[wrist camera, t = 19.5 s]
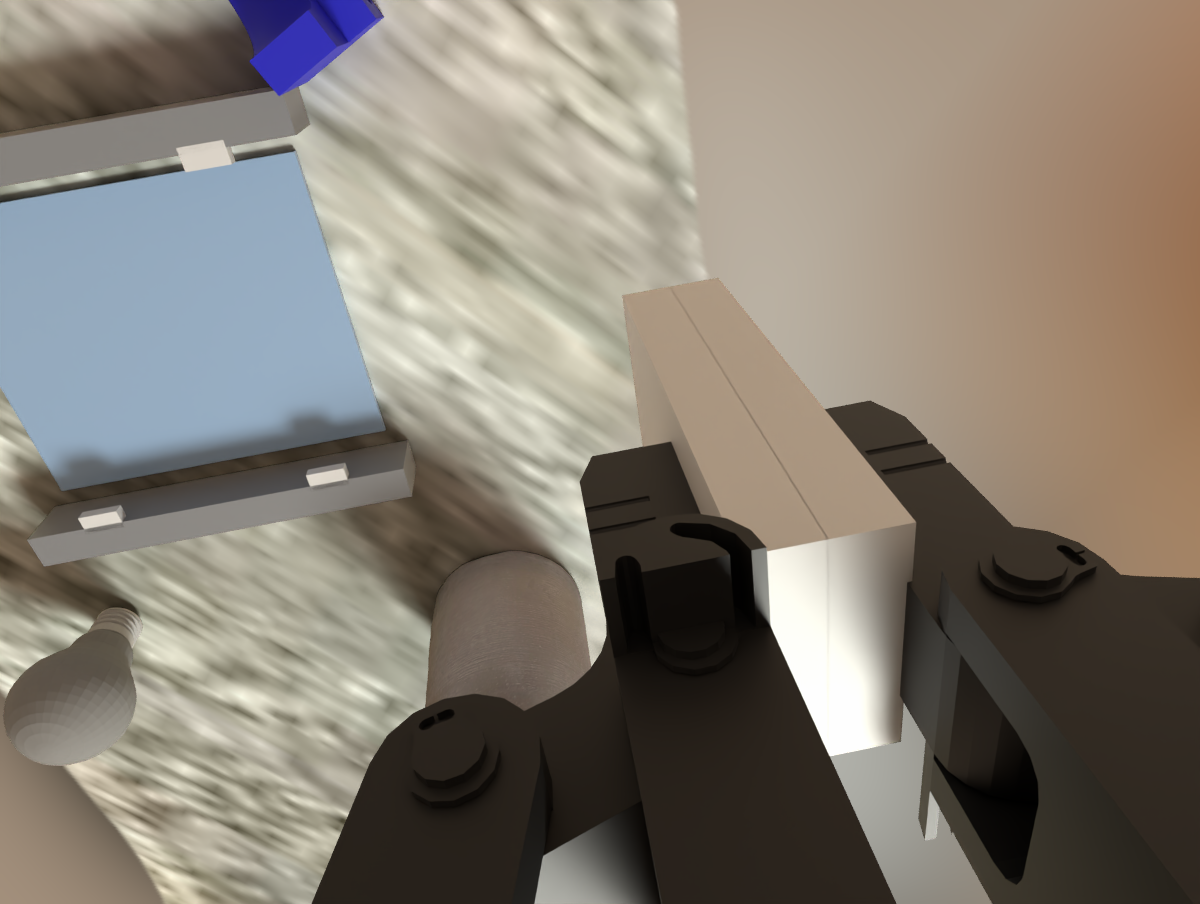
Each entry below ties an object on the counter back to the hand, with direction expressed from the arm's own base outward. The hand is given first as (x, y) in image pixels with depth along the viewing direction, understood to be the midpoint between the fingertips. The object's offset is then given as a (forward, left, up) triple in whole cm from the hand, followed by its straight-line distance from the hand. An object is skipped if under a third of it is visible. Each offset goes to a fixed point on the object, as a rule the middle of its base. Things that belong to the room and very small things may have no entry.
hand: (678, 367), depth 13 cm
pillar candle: (+29, -8, -30) cm, 42 cm away
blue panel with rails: (+7, -21, -29) cm, 37 cm away
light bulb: (+24, -31, -30) cm, 49 cm away
